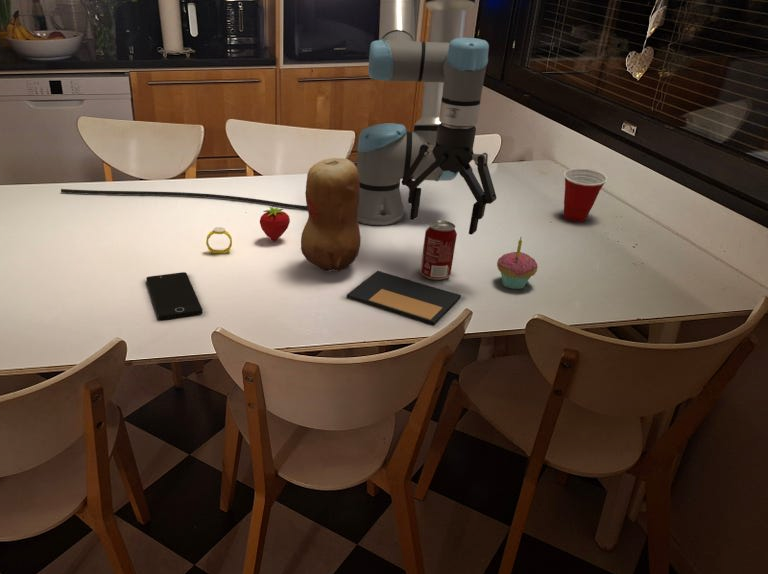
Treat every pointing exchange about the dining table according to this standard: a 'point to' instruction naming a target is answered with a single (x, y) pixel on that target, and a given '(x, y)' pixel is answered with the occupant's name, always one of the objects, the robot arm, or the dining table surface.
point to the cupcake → (516, 268)
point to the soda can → (438, 250)
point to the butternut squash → (332, 215)
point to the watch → (219, 231)
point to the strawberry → (274, 223)
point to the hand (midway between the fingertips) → (442, 225)
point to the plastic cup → (581, 192)
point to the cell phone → (173, 295)
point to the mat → (404, 297)
